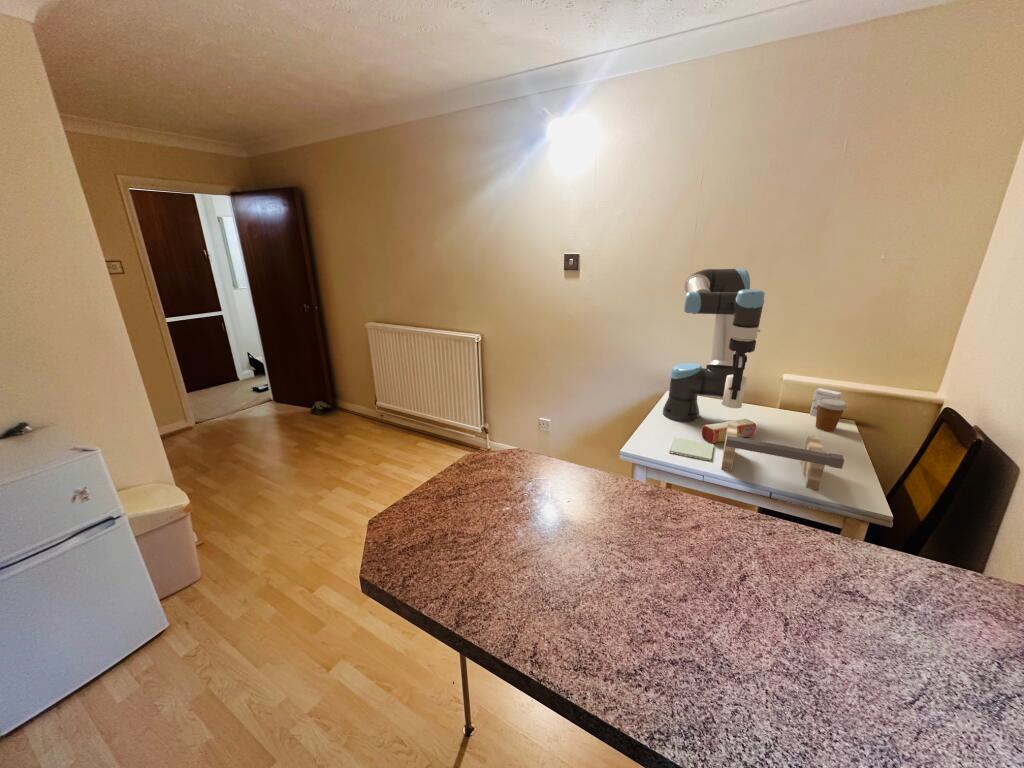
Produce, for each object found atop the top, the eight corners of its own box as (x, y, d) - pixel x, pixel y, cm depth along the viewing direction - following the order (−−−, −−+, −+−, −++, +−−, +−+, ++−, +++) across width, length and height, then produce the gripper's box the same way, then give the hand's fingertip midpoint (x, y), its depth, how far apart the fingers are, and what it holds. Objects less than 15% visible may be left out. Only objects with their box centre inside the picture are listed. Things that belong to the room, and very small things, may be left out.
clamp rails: (723, 448, 150) (728, 422, 147) (811, 465, 138) (818, 437, 134) (721, 469, 137) (726, 441, 133) (818, 489, 124) (826, 459, 121)
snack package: (743, 430, 164) (745, 415, 162) (756, 437, 158) (759, 422, 156) (699, 438, 159) (701, 422, 157) (711, 446, 153) (714, 430, 151)
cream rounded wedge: (722, 400, 142) (726, 373, 139) (741, 403, 140) (746, 375, 136) (722, 406, 137) (726, 379, 134) (741, 409, 135) (747, 381, 131)
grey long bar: (725, 442, 132) (727, 434, 131) (839, 464, 118) (842, 455, 117) (725, 446, 130) (727, 438, 129) (841, 468, 116) (844, 459, 115)
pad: (674, 439, 158) (674, 436, 158) (713, 446, 152) (713, 444, 151) (669, 452, 148) (669, 450, 148) (710, 461, 142) (711, 458, 142)
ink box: (836, 417, 173) (843, 392, 169) (832, 420, 170) (839, 395, 167) (813, 411, 180) (819, 387, 176) (809, 414, 177) (815, 389, 173)
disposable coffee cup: (814, 431, 162) (821, 404, 158) (808, 422, 170) (814, 395, 166) (843, 435, 158) (851, 407, 154) (835, 425, 167) (842, 398, 163)
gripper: (758, 346, 121) (745, 416, 129) (755, 333, 137) (743, 396, 145) (730, 344, 124) (719, 412, 132) (730, 331, 140) (720, 393, 148)
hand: (731, 403), depth 138 cm, fingers closed on cream rounded wedge, 6 cm apart
